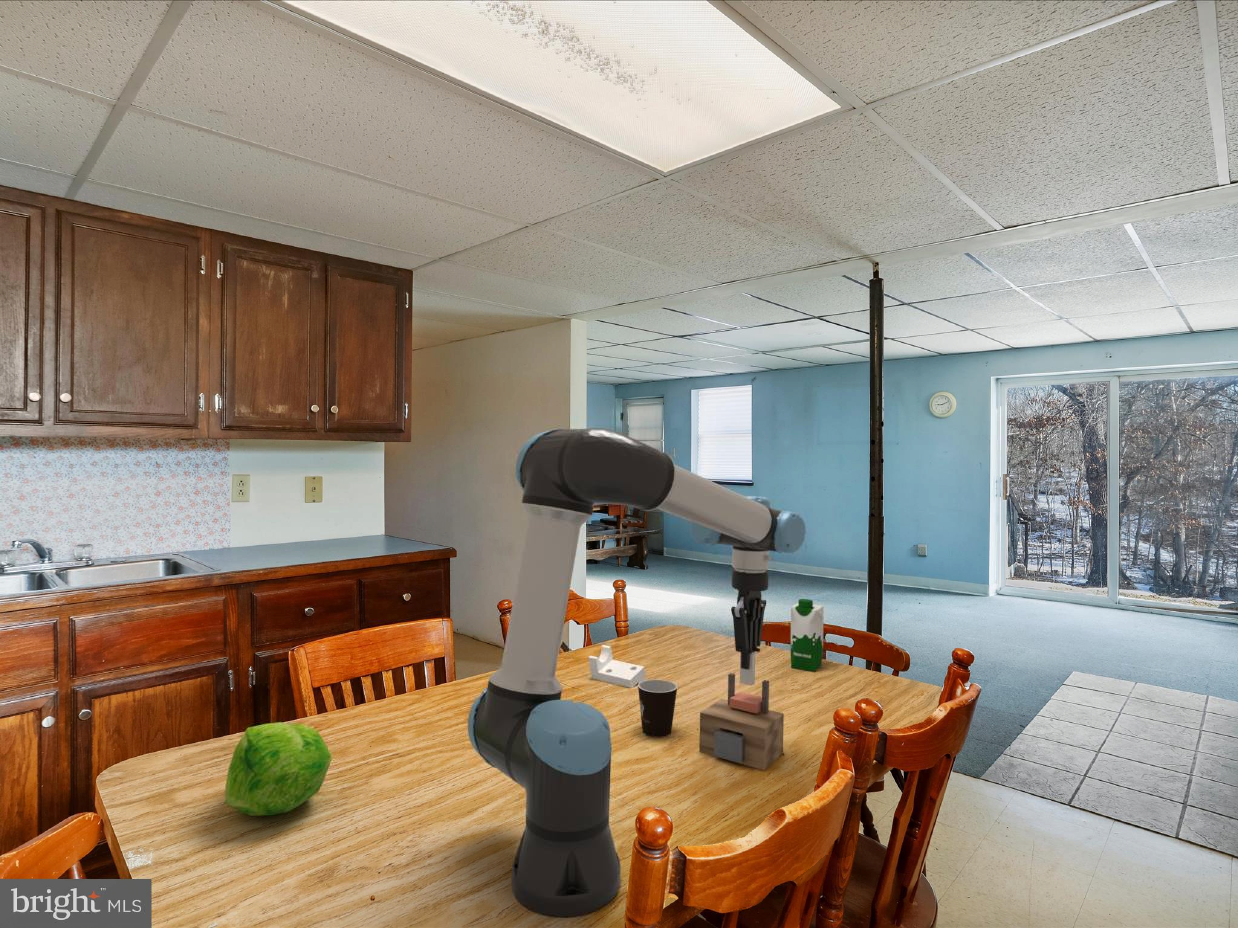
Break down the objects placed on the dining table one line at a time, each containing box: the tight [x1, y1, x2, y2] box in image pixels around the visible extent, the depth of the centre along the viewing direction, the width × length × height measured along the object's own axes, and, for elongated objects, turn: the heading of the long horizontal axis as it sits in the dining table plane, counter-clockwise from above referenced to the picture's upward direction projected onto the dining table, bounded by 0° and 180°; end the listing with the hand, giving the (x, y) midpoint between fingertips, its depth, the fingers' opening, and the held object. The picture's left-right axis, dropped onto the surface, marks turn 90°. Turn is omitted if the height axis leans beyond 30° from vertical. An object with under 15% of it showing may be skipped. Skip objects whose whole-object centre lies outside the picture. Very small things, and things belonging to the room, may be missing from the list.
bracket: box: [587, 644, 647, 689], centre depth 180 cm, size 13×7×8 cm, turn 55°
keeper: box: [730, 691, 762, 714], centre depth 138 cm, size 5×6×2 cm
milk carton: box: [790, 598, 825, 673], centre depth 195 cm, size 9×9×20 cm
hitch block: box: [698, 672, 785, 771], centre depth 136 cm, size 10×14×14 cm
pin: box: [714, 729, 745, 764], centre depth 137 cm, size 15×6×5 cm, turn 145°
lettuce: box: [224, 721, 333, 817], centre depth 112 cm, size 15×20×14 cm
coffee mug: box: [637, 678, 678, 738], centre depth 147 cm, size 12×9×10 cm
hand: (747, 683), depth 138 cm, fingers closed
